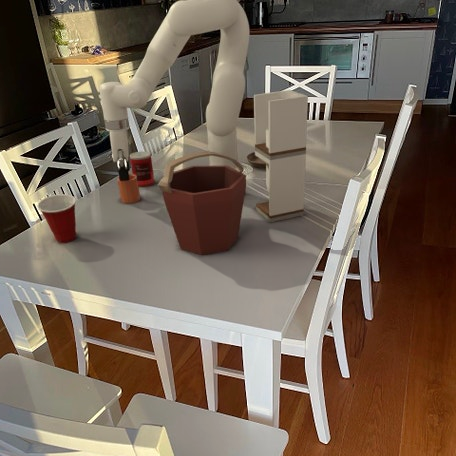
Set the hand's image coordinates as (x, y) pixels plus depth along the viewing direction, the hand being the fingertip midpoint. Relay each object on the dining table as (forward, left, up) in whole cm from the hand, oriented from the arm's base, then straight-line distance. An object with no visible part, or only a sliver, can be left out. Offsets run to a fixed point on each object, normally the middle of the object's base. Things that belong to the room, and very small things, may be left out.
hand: (125, 175), depth 162 cm
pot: (0, -1, -9) cm, 9 cm away
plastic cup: (-26, +18, -9) cm, 33 cm away
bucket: (-38, -23, -9) cm, 45 cm away
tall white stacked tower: (-25, -48, -9) cm, 54 cm away
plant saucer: (+23, -56, -9) cm, 61 cm away
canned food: (+15, -6, -9) cm, 18 cm away
